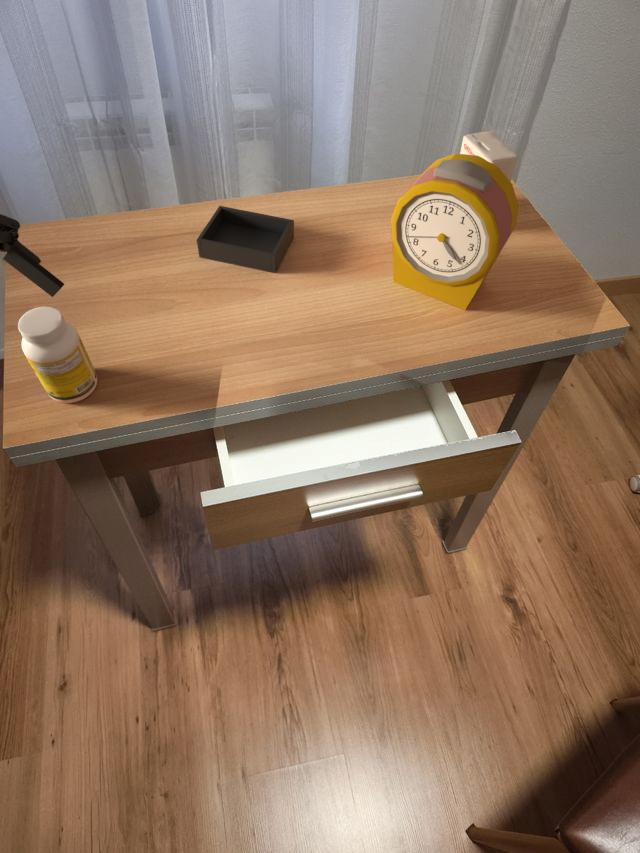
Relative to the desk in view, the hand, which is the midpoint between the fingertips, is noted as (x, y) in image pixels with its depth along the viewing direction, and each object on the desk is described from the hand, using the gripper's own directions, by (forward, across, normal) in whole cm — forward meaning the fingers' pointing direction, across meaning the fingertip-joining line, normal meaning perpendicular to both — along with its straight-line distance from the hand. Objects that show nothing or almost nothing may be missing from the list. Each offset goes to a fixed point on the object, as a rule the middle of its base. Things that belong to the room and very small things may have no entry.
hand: (27, 329), depth 64 cm
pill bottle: (+8, 0, -4) cm, 9 cm away
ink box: (+40, -52, +27) cm, 70 cm away
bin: (+16, -32, +4) cm, 36 cm away
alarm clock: (+37, -33, +25) cm, 55 cm away
